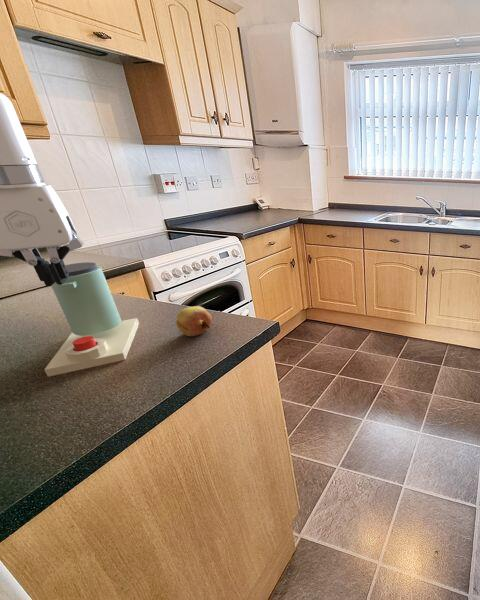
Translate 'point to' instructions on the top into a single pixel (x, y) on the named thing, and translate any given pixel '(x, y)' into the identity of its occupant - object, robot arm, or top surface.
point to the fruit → (193, 320)
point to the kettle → (87, 300)
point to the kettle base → (94, 349)
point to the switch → (84, 343)
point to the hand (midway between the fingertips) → (57, 282)
